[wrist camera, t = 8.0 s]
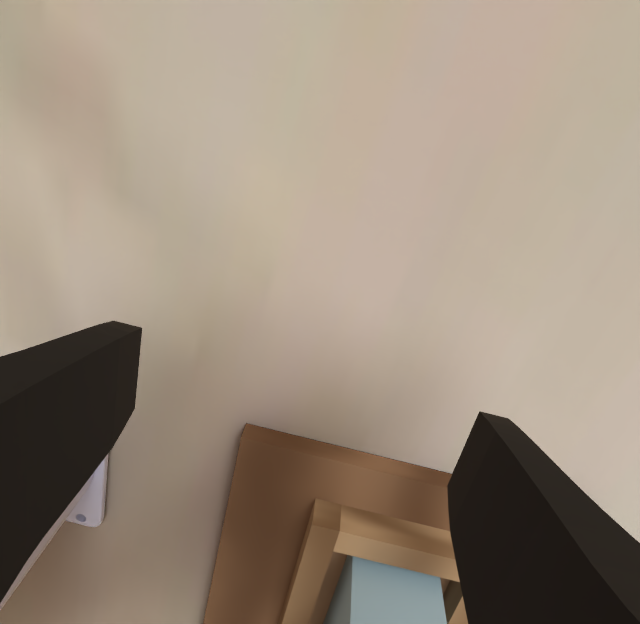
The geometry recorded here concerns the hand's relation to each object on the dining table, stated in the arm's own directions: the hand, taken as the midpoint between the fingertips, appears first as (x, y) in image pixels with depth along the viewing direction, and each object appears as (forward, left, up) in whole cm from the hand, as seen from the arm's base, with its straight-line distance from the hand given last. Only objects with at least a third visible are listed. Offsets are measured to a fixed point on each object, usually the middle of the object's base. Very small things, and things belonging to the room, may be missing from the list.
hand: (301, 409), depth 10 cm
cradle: (+6, -17, -9) cm, 20 cm away
